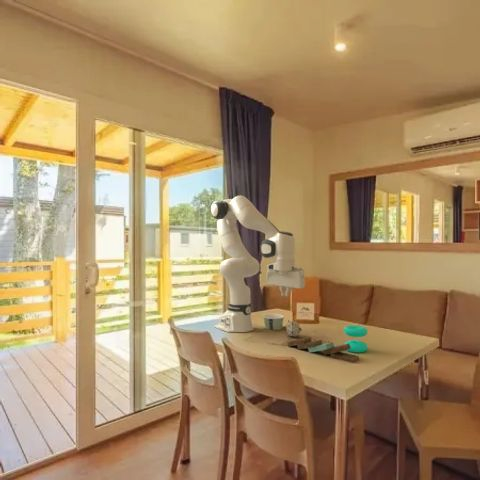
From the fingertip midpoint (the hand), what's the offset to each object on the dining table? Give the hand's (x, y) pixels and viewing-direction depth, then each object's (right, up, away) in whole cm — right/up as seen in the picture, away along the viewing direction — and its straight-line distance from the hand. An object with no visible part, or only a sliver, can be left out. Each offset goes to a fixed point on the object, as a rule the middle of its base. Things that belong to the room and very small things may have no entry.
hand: (284, 296), depth 172 cm
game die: (+6, -23, +13) cm, 27 cm away
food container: (-2, -23, +32) cm, 39 cm away
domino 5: (+18, -22, -17) cm, 33 cm away
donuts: (+30, -23, -10) cm, 39 cm away
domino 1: (+3, -22, -2) cm, 22 cm away
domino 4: (+16, -21, -15) cm, 30 cm away
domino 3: (+11, -22, -11) cm, 26 cm away
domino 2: (+7, -22, -7) cm, 23 cm away
